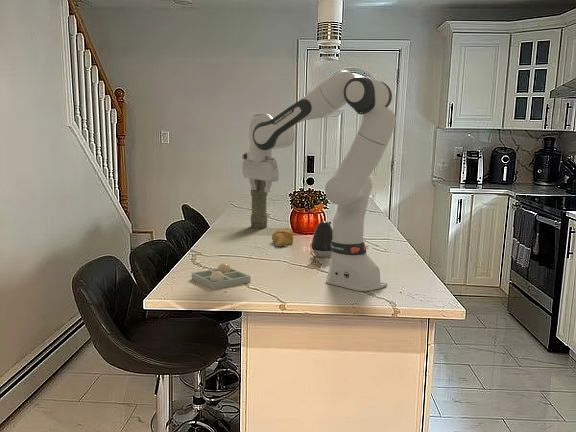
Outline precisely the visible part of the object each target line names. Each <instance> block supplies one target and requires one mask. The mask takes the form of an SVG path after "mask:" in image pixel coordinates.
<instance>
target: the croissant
mask: <svg viewBox="0 0 576 432" xmlns="http://www.w3.org/2000/svg"><path fill="white" fill-rule="evenodd" d="M271 239H272V243H274V244H275V245H276V246H277V247H284V246H289V245H292V244H293V242H294V241H293V240H294V235H293V232H292V231H291V230H289V229H287V228H280V229H278V230H276V231H275V232H274V233H272V235H271Z"/></svg>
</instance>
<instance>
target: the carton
mask: <svg viewBox="0 0 576 432" xmlns="http://www.w3.org/2000/svg"><path fill="white" fill-rule="evenodd" d="M230 268H231V272H230V273H224V274H223V275H224V281H218V282H212V281H210V275H211V274H212V273H213V272H214V271H217V269H218V268H212V269H207V270H202V271H196V272H191V280H193V281H194V282H197V283H198V284H200V285H202V286H205V287H207V288H209V289H211V290H216V289H217V290H218V289H222V288H228V287H233V286H239V285H242V284H248V283H251V275H249V274H247V273H244V272H242V271H240V270H237V269H234V268H232V267H230Z"/></svg>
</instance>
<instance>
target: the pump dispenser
mask: <svg viewBox="0 0 576 432" xmlns="http://www.w3.org/2000/svg"><path fill="white" fill-rule="evenodd" d="M315 227H316V228H315V230H314V232H313V236H312V242H311V249H312V253H313V254H314V255H315V256H316V257H317V258H321V259H326V258H331V255H332V251H331V241H332V237H333V226H332V222H331V221H325V220H322V221H320V222H319V223H318V224H317V226H315Z"/></svg>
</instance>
